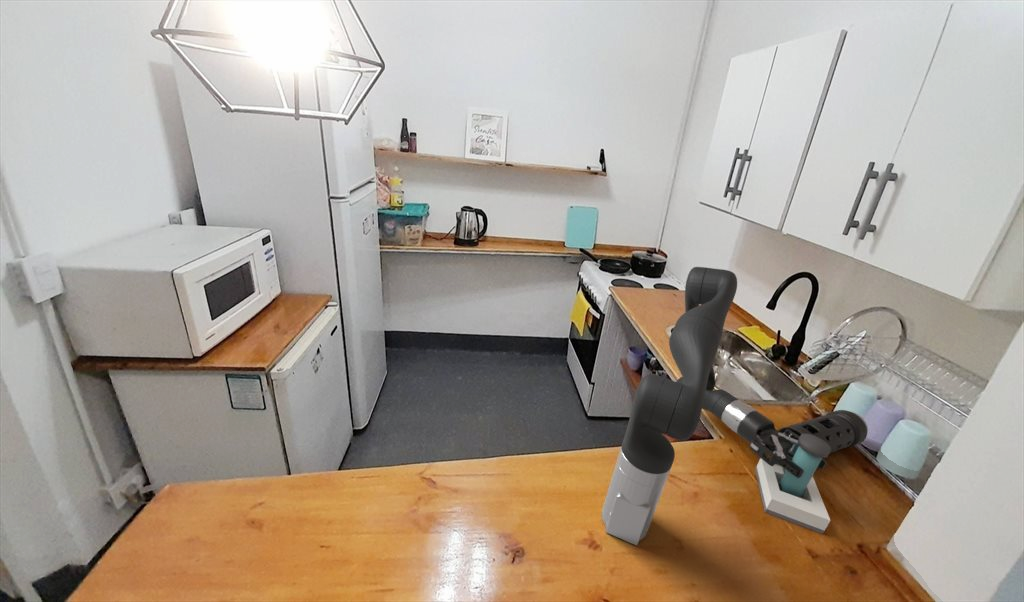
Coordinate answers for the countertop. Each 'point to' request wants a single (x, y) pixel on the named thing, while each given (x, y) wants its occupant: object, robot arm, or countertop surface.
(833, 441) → the muzzle brake
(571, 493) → the countertop surface
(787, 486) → the peg
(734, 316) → the countertop surface
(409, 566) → the countertop surface
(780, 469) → the keyhole plate
